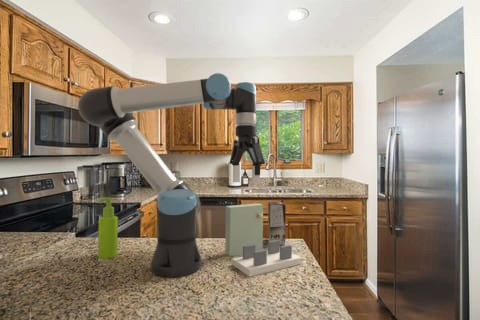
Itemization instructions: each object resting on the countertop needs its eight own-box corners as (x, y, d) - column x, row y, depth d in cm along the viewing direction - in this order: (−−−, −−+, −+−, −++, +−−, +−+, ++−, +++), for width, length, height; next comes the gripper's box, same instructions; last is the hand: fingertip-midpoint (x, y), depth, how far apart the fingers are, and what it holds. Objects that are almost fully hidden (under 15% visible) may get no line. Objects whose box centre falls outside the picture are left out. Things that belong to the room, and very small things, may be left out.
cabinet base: (249, 276, 76) (249, 255, 76) (232, 265, 84) (232, 246, 85) (301, 263, 86) (301, 245, 86) (281, 254, 95) (281, 237, 95)
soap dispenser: (91, 258, 89) (92, 198, 89) (108, 251, 96) (109, 196, 96) (104, 260, 87) (105, 199, 87) (120, 254, 93) (121, 197, 94)
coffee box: (285, 245, 105) (286, 204, 105) (269, 245, 105) (269, 204, 106) (282, 238, 114) (282, 201, 115) (267, 238, 115) (267, 201, 115)
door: (232, 257, 91) (232, 208, 91) (225, 253, 95) (225, 206, 95) (265, 251, 98) (265, 205, 98) (257, 247, 102) (257, 203, 103)
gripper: (275, 122, 89) (274, 185, 89) (237, 130, 110) (237, 181, 110) (256, 120, 85) (256, 186, 85) (221, 128, 107) (221, 181, 106)
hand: (245, 183), depth 98 cm, fingers open, 13 cm apart
